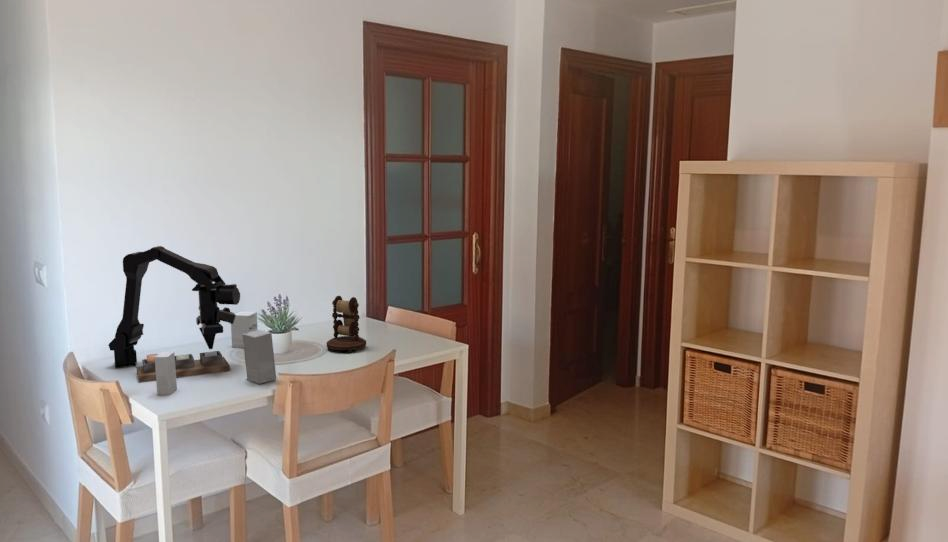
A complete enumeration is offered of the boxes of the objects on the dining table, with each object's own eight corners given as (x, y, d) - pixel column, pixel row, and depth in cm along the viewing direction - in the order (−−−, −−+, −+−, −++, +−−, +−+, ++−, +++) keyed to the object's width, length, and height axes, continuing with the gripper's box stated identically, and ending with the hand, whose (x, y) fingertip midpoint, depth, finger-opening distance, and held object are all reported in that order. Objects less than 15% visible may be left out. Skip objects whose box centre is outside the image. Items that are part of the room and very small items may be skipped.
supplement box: (249, 348, 279) (247, 315, 277) (231, 347, 280) (229, 314, 278) (258, 343, 286) (257, 311, 284) (241, 342, 288) (239, 310, 286)
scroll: (373, 346, 283) (372, 294, 279) (351, 355, 269) (350, 301, 266) (341, 342, 289) (340, 291, 286) (318, 351, 276) (316, 298, 272)
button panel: (139, 382, 237) (138, 367, 237) (136, 372, 248) (135, 358, 247) (229, 370, 250) (229, 356, 249) (224, 362, 261) (223, 348, 260)
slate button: (205, 363, 250) (205, 355, 250) (204, 360, 254) (203, 352, 253) (218, 362, 252) (217, 353, 252) (216, 359, 255) (216, 350, 255)
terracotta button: (147, 366, 242) (147, 357, 241) (146, 363, 245) (146, 354, 245) (160, 365, 244) (160, 356, 243) (159, 362, 247) (159, 353, 247)
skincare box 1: (163, 388, 231) (160, 351, 229) (177, 388, 232) (174, 351, 230) (156, 395, 225) (153, 356, 223) (171, 394, 226) (168, 356, 224)
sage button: (177, 367, 246) (176, 358, 246) (176, 364, 250) (175, 355, 249) (190, 365, 248) (189, 357, 247) (188, 362, 251) (188, 354, 251)
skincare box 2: (276, 380, 240) (274, 332, 237) (256, 385, 235) (254, 336, 232) (263, 375, 246) (261, 328, 243) (243, 379, 241) (241, 332, 238)
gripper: (238, 306, 245) (240, 352, 248) (228, 297, 262) (230, 340, 264) (202, 309, 240) (205, 356, 243) (194, 299, 256) (197, 343, 259)
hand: (210, 348), depth 252 cm, fingers closed
